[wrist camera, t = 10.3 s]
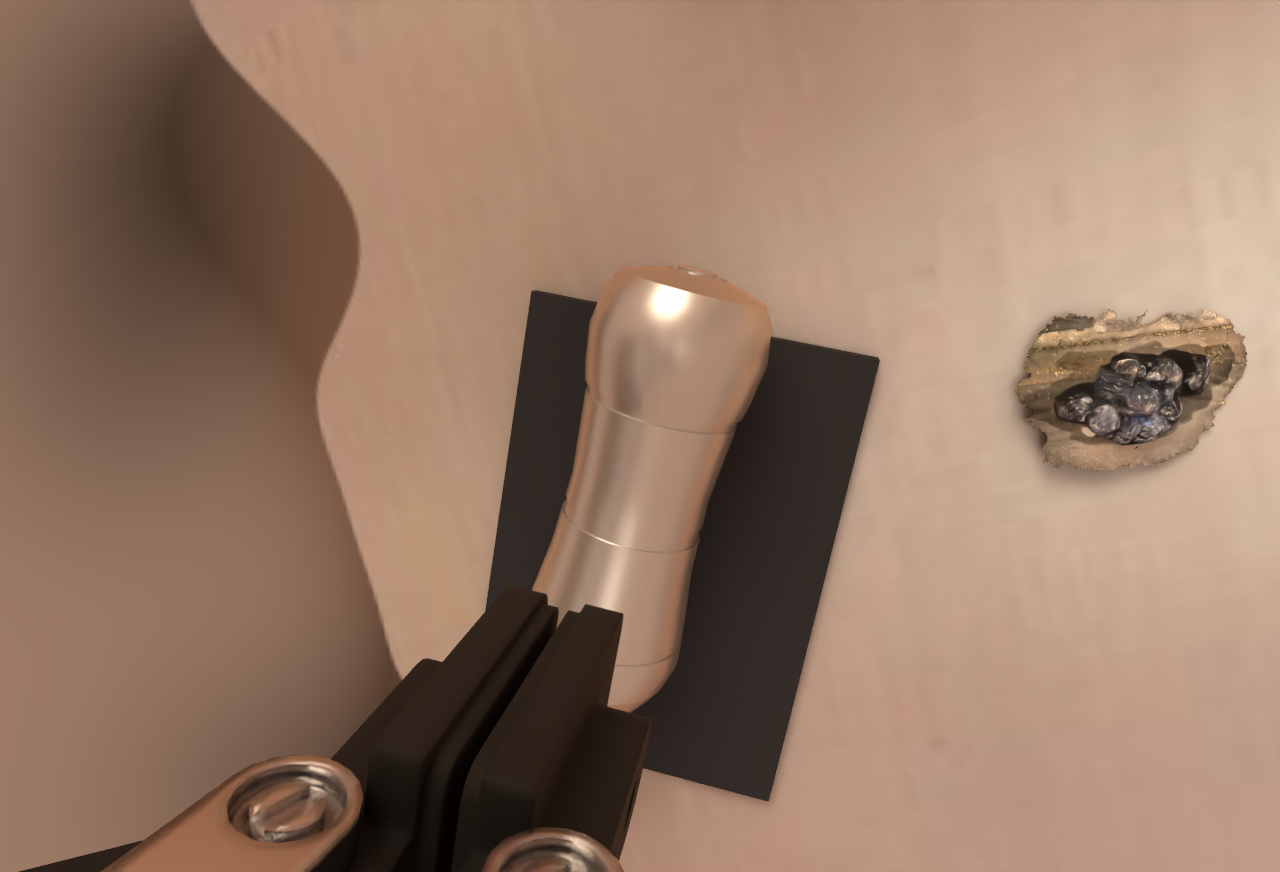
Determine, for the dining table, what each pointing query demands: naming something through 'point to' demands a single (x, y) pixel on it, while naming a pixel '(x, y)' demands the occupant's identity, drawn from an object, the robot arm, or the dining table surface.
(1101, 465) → the mineral rock
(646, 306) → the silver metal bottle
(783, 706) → the mat
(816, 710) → the dining table surface
